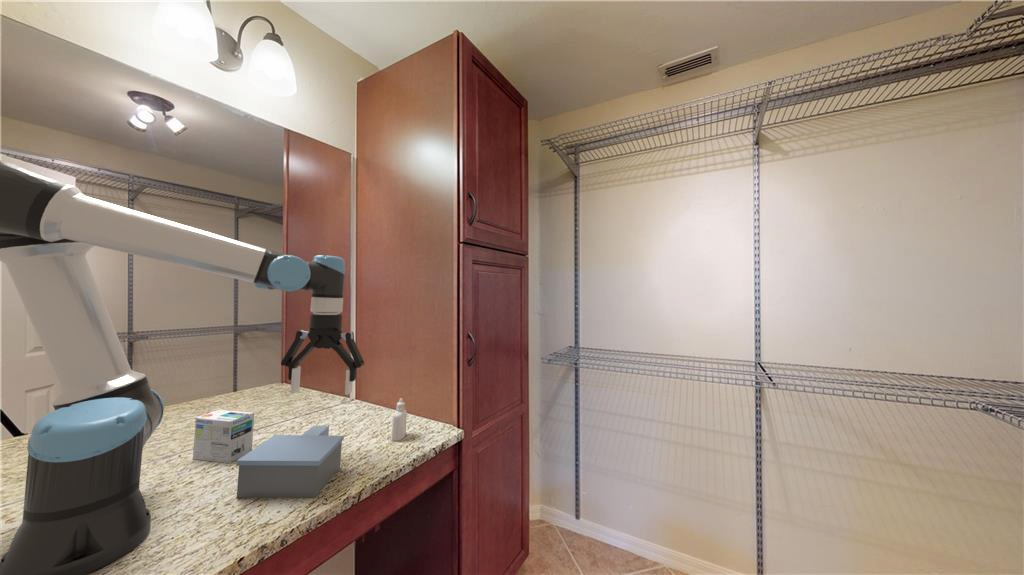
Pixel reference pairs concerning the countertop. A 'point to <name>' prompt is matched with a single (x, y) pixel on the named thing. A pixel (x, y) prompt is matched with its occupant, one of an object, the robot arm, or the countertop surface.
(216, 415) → the light bulb box
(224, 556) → the countertop surface
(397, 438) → the eye dropper bottle
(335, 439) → the lid
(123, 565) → the countertop surface
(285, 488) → the tub
